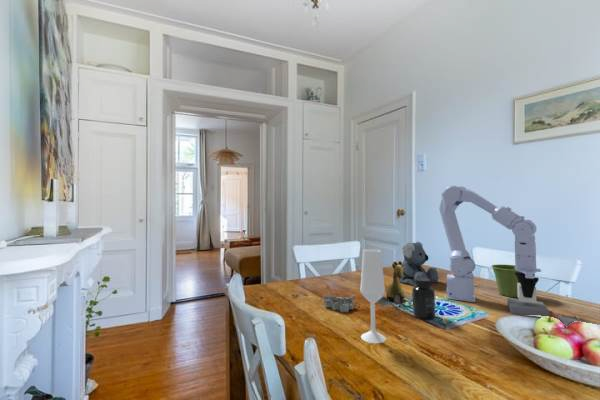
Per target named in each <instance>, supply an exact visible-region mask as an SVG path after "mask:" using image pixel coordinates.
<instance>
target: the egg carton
mask: <svg viewBox="0 0 600 400" xmlns="http://www.w3.org/2000/svg"><path fill="white" fill-rule="evenodd" d="M322 298H323V306H324V305H325V306H324V308H326V307H328V308H330V307H331V309H332V310H333V311H335V310H337V311H338V310H339V311H340V312H341V313H344V312H345V313H348V312H349V311H350V310H354V309H355V307H354V306H355V304H354V303H355V302H354V301H355V300H356V297H353V296H347V297H346V296H345V297H341V296H335V295H327V296H323V297H322Z"/></svg>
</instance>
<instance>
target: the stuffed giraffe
mask: <svg viewBox="0 0 600 400" xmlns="http://www.w3.org/2000/svg"><path fill="white" fill-rule="evenodd" d="M402 263H403V262H402V261H401V260H399V261H398V262H397V261H393V263H392V264H391V265H392V268H393V273H392V282H391V283H390V284H389V285H388V286H387V291H386V292H385V294H386V296H384V295H383V296H382V298H381V299H379V300H378V301H377V302H378V303H379V304H380V305H381V307H382V308H386V306H391V307H393V308H400V307H399V305H400V304H402V303H405V302H406V301H404V300H403V299H407V300H408V301H412V300H413V297H412V295H411V294H408V293H407V292H406V293H405V292H404V291H403V288H402V284H401V282H400V281H399V278H400V279H401V278H402V276H403V268H402V266H403V265H404V264H402ZM405 296H406V297H405ZM398 303H400V304H398Z"/></svg>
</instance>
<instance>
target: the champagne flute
mask: <svg viewBox="0 0 600 400" xmlns="http://www.w3.org/2000/svg"><path fill="white" fill-rule="evenodd" d="M359 291H360V293H361V295H362V296H363V298H365V300H366V301H368V302H369V303H370V330H369V331H367V332H364V333H362V334H361V335H360V338H361V340H363V341H364V342H366V343H369V344H381V343H384V342H385V341H386V340H387V338H386V336H384V335H382V334H381V333H380V332H378V331H376V303H377V302H379V301H378V300H379V299H381V298H382V296H384V295H385V294H386V287H385V278H384V268H383V260H382V251H381V250H380V249H373V248H371V249H368V248H367V249H363V250H362V261H361V274H360V289H359Z"/></svg>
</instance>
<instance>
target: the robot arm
mask: <svg viewBox="0 0 600 400" xmlns="http://www.w3.org/2000/svg"><path fill="white" fill-rule="evenodd" d="M464 202H465V203H471V204H473V205H475V206H476V207H479V209H482V210H483V211H486V213H489V214H491V217H492V220H494V221H495V222H496V223H499V224H500V225H502V226H503V227H504V228H506V229H508V230H511V231H512V232H511V233H512V234H513V235H514V265H515V270H516V271H519V272H514V273H515V274H516V276H517V279H518V281H519V283H520V284H521V287H522V292H523V296H524V297H527V298H532V296H533V292H534V288H535V287H536V285H537V284H538V282H539V279H540V278H539V277H535V276H536V274H535V273H541V272H542V269H541V268H537V246H536V244H537V243H536V235H535V234H536V232H537V226H536V224H535V222H533V221H532V220H530V219H525V218H526V217H525V216H524V215H518V214H517V213H516V212H514V211H513V210H512V208H510V207H509V206H507V207H506V206H504V205H503V206H497V205H495V204H493V202H490V201H489V200H487V199H486V198H484V197H483V196H481V195H479V194H478V193H476V192H475V191H473V190H470V189H469V188H466V187H464V186H456V185H449V186H447V187H446V188H445V189H444V190H443V192H441V200H440V204H439V214H440V217H441V220H442V224H443V226H444V231H445V234H446V238H447V241H448V245H449V247H450V255H449V259H450V264H449V270H450V271H451V274H450V273H448V274H446V295H447V296H446V299H448V300H455V301H463V302H471V303H475V302H476V295H475V285H474V284H475V283H474V281H475V277H474V273H473V272H474V271H475V269H476V263H475V261H474V260H473V259H472V256H471V255H470V253H469V251H468V250H467V249H466V246H465V242H464V239H463V236H462V232H461V229H460V225H459V222H458V219H457V216H456V210H457V209H458V207H460V205H461V204H463V203H464Z"/></svg>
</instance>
